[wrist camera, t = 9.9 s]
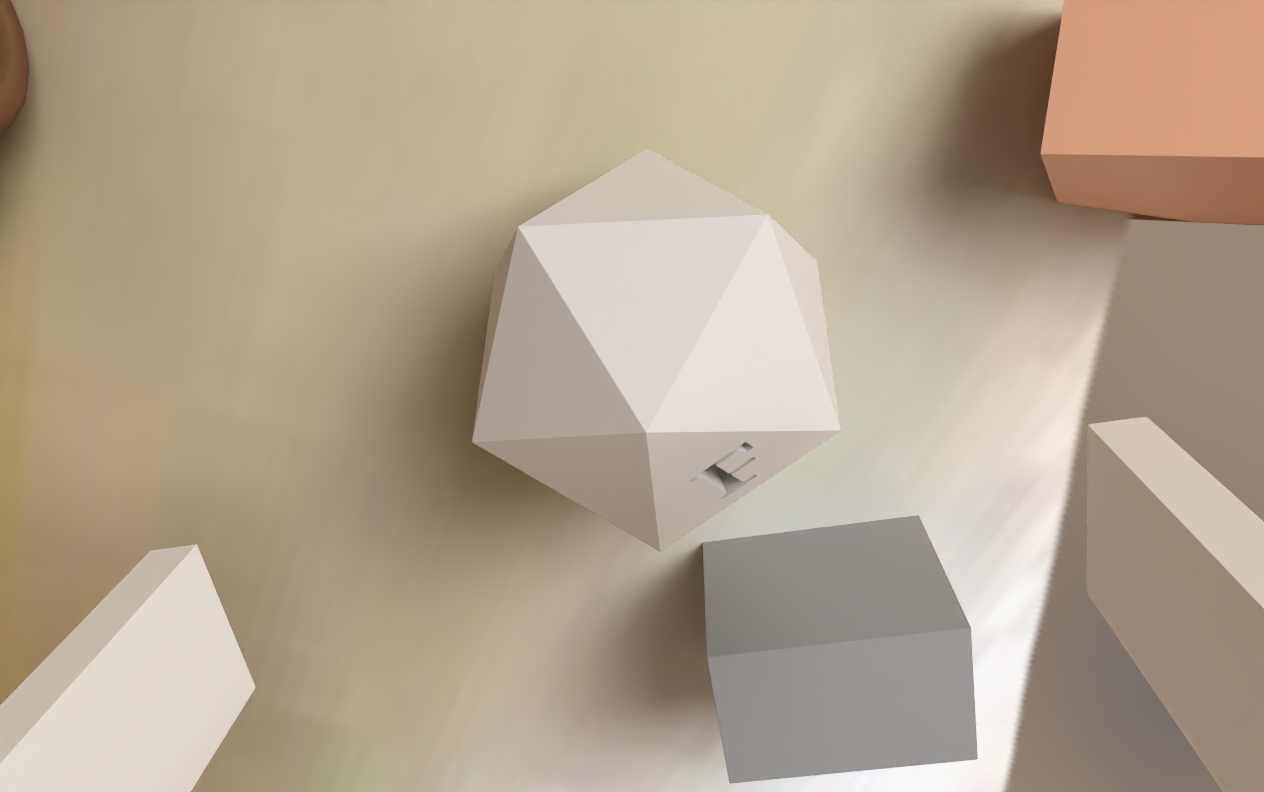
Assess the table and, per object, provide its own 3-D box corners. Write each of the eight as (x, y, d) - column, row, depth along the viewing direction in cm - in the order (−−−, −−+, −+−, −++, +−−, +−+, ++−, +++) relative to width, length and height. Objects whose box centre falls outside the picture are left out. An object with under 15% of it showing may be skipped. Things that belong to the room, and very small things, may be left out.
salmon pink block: (1401, -68, 19) (1071, -42, 21) (1362, 158, 19) (1040, 154, 22) (1335, 57, 25) (1086, 64, 28) (1307, 227, 25) (1062, 216, 28)
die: (642, 474, 30) (624, 682, 21) (452, 262, 28) (336, 390, 18) (865, 317, 28) (956, 474, 18) (677, 70, 25) (673, 108, 16)
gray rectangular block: (702, 541, 31) (707, 657, 25) (917, 514, 30) (970, 627, 25) (721, 652, 33) (729, 783, 27) (926, 628, 32) (977, 759, 26)
